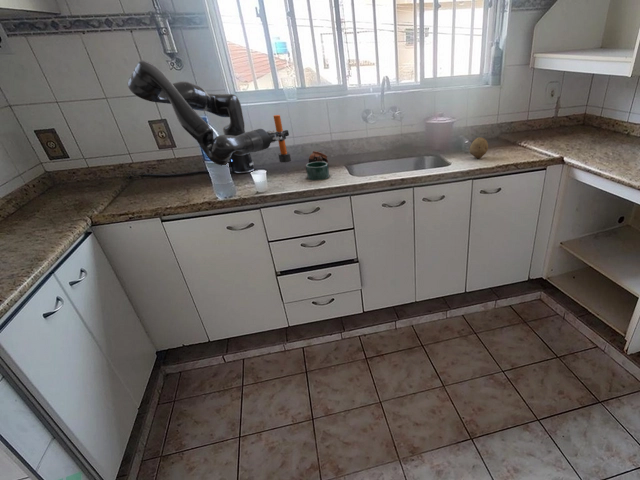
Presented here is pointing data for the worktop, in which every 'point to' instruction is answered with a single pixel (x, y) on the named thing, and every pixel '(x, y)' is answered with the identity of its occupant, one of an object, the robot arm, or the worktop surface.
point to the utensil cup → (317, 170)
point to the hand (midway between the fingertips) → (284, 132)
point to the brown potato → (478, 147)
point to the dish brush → (283, 155)
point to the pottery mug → (317, 157)
